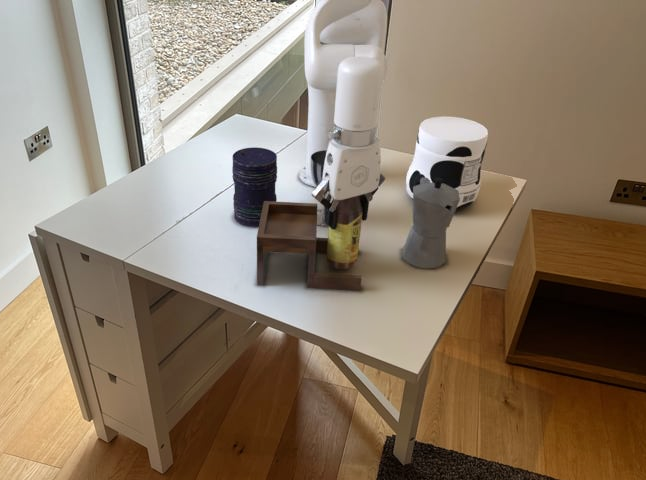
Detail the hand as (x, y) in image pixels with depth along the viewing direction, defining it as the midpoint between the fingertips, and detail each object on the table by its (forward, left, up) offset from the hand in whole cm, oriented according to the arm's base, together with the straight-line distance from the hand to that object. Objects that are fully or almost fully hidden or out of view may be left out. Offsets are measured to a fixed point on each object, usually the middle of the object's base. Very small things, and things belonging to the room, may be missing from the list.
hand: (345, 220), depth 113 cm
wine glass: (-8, -18, -11) cm, 23 cm away
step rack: (+6, -3, -11) cm, 13 cm away
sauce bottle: (0, 0, -10) cm, 10 cm away
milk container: (-38, -13, -11) cm, 42 cm away
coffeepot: (-18, +4, -11) cm, 21 cm away
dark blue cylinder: (+6, -26, -11) cm, 29 cm away
